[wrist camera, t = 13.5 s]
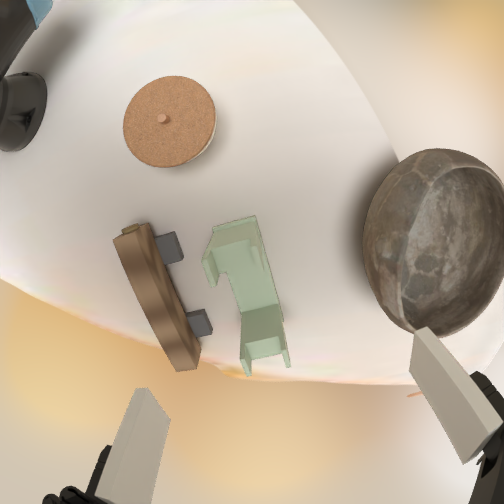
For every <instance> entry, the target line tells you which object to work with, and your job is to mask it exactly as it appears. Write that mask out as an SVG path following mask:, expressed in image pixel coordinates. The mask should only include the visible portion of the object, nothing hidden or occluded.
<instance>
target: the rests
mask: <svg viewBox="0 0 504 504" xmlns="http://www.w3.org/2000/svg"><path fill="white" fill-rule="evenodd" d="M154 240H155V242H156V245H157V248H158V250H159V253H160V255H161V258H162V261H163V263H164V265H167V264H171V263H175V262H178V261H182V259H183V257H184V256H183V253H182V250H181V248H180V245H179V242H178V239H177V237H176V234H175V231H174V232H171V233H168V234H164V235H161V236H158V237H155V238H154ZM185 315H186V318H187V320H188V322H189V324H190V326H191V328H192V331H193V333H194V335H195V337H196V338H197V337H202V336H207V335H212V331H213V329H212V326H211V324H210V322H209V319H208V317H207V314H206V312H205V310H204V309H202V310H198V311H193V312H189V313H185Z"/></svg>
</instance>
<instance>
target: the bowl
mask: <svg viewBox="0 0 504 504" xmlns="http://www.w3.org/2000/svg"><path fill="white" fill-rule="evenodd" d="M362 250H363V258H364V264H365V270H366V274H367V277H368V280H369V283H370V286H371V288H372V290H373V292H374V294H375V296H376V299H377V301H378V303H379V305H380V307H381V308H382V309H383V310H384V312H385V313H386V315H387V316H388V317H389V319H390V320H391V321H393V322H394V323H395V324H396V325H397V326H399V327H400V328H402V329H404V330H406V331H408V332H410V333H412V334H414V331H417V330H419V329H422V328H424V327H428V328H429V329H430V330H431V331H432V332H433V333H434V334H435V336H436V337H437V338H443V337H447V336H449V335H452V334H454V333H456V332H458V331H460V330H462V329H463V328H465V327H466V326H468V325H469V324H470V323H472V322H473V321H474V320H475V319H476V318H477V317H478V316H479V315H480V314H481V313H482V312H483V311H484V310H485V309H486V307H487V306H488V305H489V303H490V302H491V301H492V299H493V298H494V296H495V294H496V292H497V290H498V288H499V286H500V284H501V282H502V280H503V278H504V185H503V183H502V182H501V180H500V179H499V177H498V176H497V175H496V174H495V173H494V172H493V170H492V169H491V168H489V167H488V166H487V165H486V164H484V163H483V162H481V161H480V160H478V159H477V158H475V157H473V156H471V155H468V154H466V153H463V152H460V151H456V150H451V149H440V148H439V149H438V148H436V149H426V150H423V151H420V152H417V153H415V154H413V155H411V156H409V157H407V158H406V159H404V160H403V161H401V162H400V163H399V164H398V165H396V166H395V167H394V168H393V169H392V170H391V172H390V173H389V174H388V175H387V176H386V178H385V179H384V181H383V182H382V184H381V186H380V187H379V189H378V190H377V192H376V194H375V195H374V197H373V199H372V202H371V205H370V208H369V210H368V213H367V217H366V221H365V224H364V230H363V240H362Z"/></svg>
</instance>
